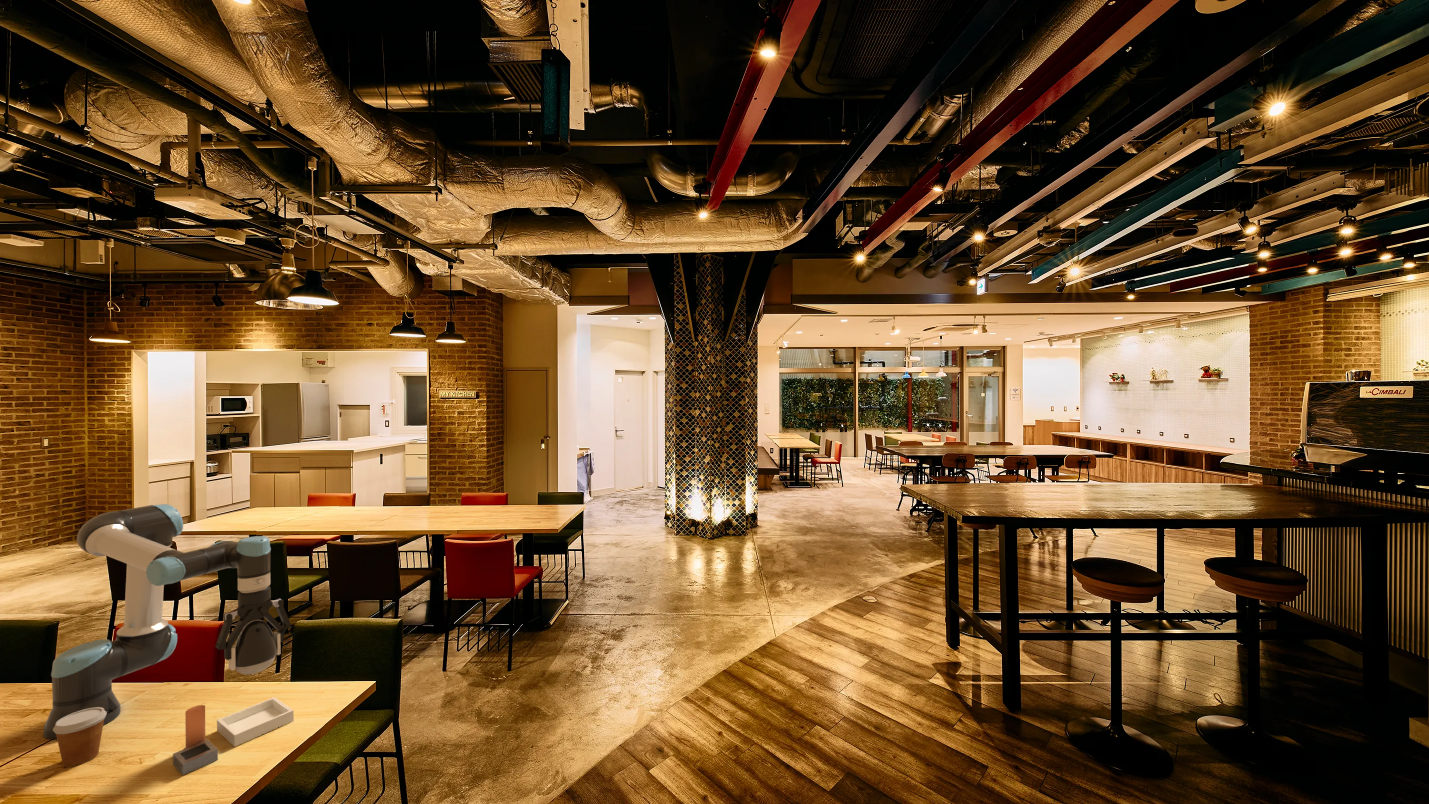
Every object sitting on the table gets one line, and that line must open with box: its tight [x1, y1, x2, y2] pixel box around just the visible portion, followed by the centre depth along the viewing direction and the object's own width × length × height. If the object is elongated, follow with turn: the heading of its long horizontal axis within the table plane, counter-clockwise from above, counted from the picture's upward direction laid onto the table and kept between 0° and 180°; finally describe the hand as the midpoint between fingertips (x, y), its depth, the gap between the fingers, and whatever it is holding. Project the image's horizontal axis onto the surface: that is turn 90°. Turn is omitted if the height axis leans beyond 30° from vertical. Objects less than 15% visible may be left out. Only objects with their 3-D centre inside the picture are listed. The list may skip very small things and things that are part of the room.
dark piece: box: [234, 619, 277, 675], centre depth 159 cm, size 10×10×15 cm
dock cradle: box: [216, 696, 295, 748], centre depth 160 cm, size 14×14×3 cm
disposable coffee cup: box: [53, 707, 107, 768], centre depth 145 cm, size 10×10×12 cm
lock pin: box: [184, 704, 206, 748], centre depth 149 cm, size 4×4×11 cm
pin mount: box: [172, 738, 219, 776], centre depth 144 cm, size 8×7×3 cm
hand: (255, 661), depth 159 cm, fingers closed on dark piece, 10 cm apart
